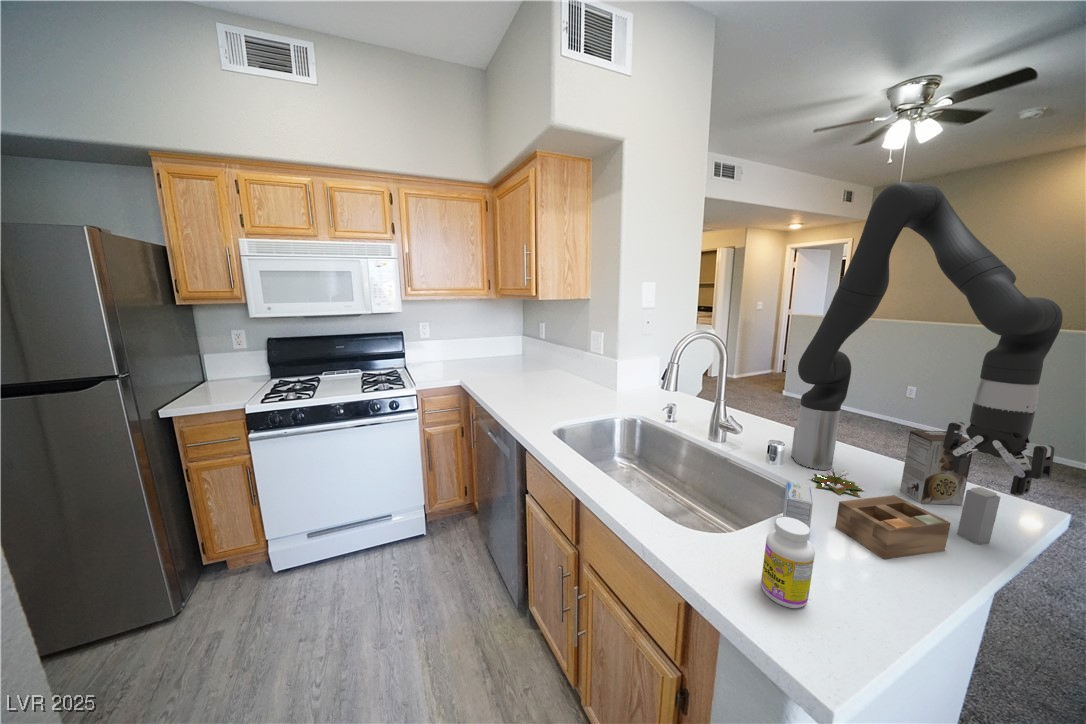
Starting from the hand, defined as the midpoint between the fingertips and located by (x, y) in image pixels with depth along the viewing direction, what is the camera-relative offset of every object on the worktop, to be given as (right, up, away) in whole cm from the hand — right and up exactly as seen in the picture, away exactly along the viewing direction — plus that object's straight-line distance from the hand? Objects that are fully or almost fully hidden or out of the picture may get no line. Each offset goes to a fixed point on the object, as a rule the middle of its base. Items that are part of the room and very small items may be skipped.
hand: (986, 483), depth 74 cm
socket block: (-17, -12, +3) cm, 21 cm away
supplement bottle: (-47, -15, -11) cm, 51 cm away
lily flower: (-11, -9, +24) cm, 28 cm away
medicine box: (-34, -12, +6) cm, 36 cm away
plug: (0, -12, +2) cm, 12 cm away
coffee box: (+7, -9, +17) cm, 21 cm away
